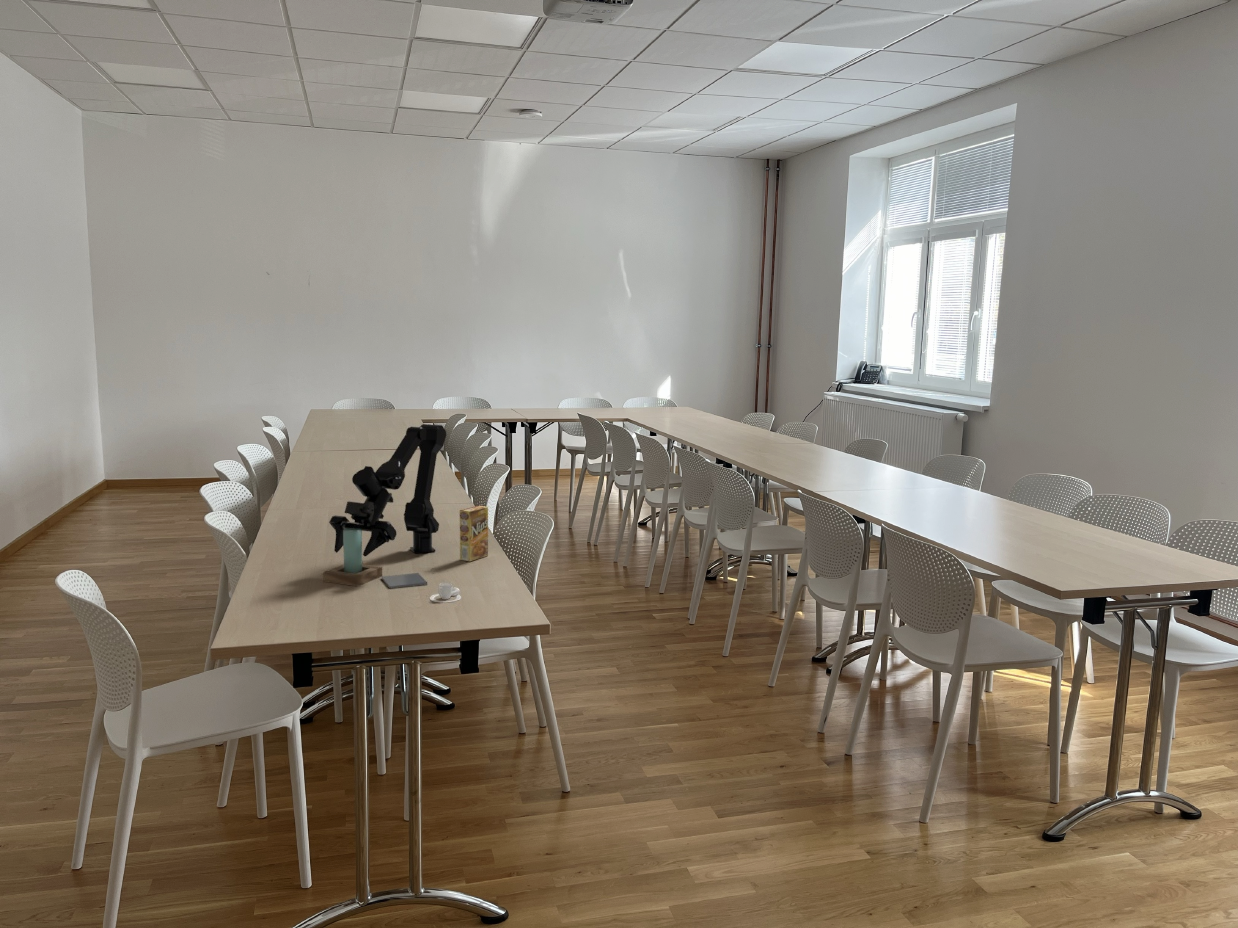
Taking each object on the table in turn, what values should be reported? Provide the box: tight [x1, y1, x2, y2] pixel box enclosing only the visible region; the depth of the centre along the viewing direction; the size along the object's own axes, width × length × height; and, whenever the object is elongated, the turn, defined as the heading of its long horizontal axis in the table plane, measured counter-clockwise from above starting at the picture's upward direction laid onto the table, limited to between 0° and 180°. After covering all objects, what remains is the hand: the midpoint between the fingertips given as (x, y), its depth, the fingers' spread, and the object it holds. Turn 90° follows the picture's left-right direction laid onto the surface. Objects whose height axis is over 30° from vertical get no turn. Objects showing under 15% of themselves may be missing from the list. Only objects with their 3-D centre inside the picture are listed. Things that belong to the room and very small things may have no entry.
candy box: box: [459, 505, 489, 562], centre depth 260 cm, size 9×4×15 cm, turn 150°
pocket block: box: [322, 563, 383, 587], centre depth 236 cm, size 11×11×2 cm
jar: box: [342, 528, 363, 574], centre depth 236 cm, size 5×5×14 cm
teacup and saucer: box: [429, 582, 462, 604], centre depth 222 cm, size 9×8×4 cm
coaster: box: [381, 572, 428, 590], centre depth 235 cm, size 10×10×1 cm
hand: (349, 553), depth 234 cm, fingers open, 9 cm apart
